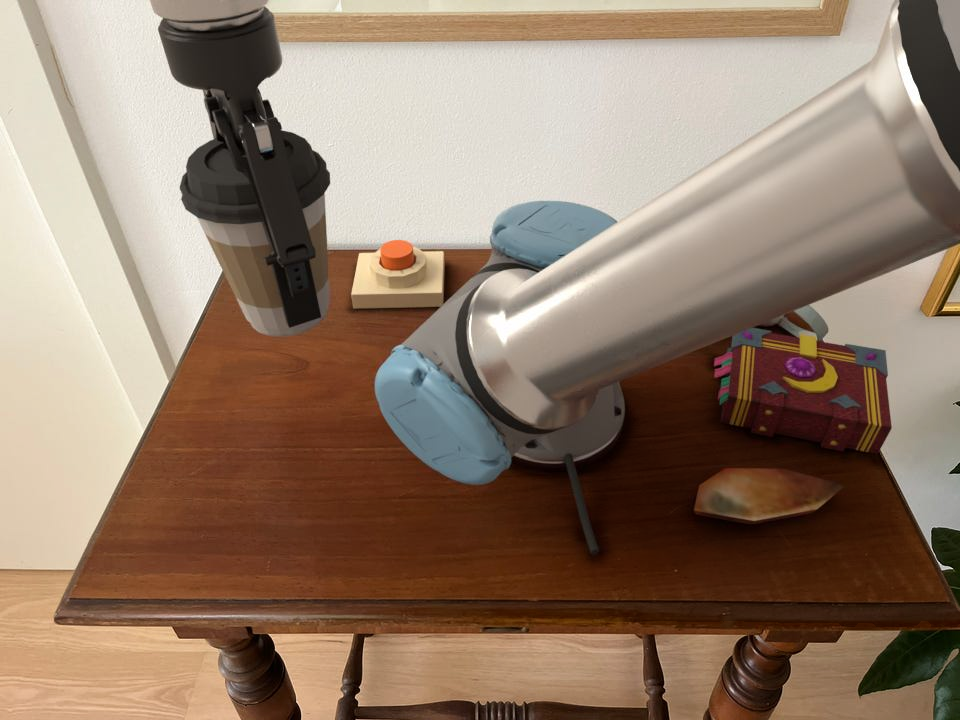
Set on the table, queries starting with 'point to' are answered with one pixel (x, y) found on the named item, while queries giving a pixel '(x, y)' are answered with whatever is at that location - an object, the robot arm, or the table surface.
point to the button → (397, 255)
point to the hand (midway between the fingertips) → (282, 282)
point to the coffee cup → (257, 227)
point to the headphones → (808, 316)
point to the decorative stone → (761, 495)
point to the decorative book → (806, 390)
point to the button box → (399, 282)
